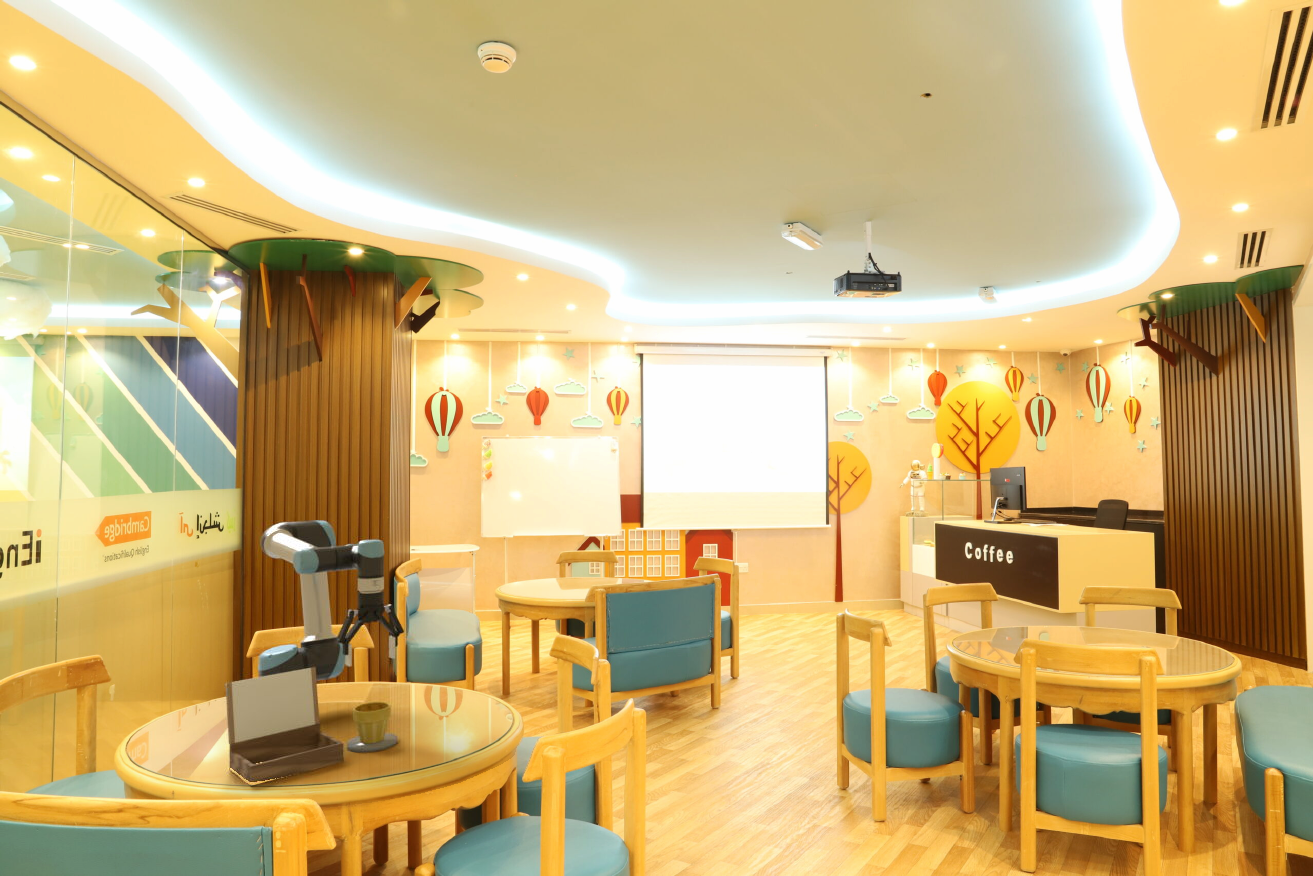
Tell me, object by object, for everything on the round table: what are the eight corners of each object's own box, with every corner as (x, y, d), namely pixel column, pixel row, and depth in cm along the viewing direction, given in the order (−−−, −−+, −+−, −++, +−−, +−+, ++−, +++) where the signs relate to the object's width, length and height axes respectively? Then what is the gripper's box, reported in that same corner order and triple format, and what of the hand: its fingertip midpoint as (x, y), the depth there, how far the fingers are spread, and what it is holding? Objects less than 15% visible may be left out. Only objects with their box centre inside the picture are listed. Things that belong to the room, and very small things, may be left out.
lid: (225, 741, 222) (225, 682, 223) (314, 721, 239) (313, 666, 239) (230, 744, 219) (230, 684, 220) (319, 724, 236) (319, 668, 237)
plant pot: (379, 746, 232) (378, 712, 232) (346, 745, 234) (345, 711, 234) (397, 735, 242) (397, 702, 242) (366, 734, 244) (365, 701, 244)
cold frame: (229, 770, 219) (229, 744, 219) (318, 748, 236) (318, 723, 236) (250, 786, 207) (250, 758, 207) (343, 761, 224) (343, 735, 224)
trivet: (338, 745, 238) (338, 741, 238) (384, 733, 248) (384, 729, 248) (359, 756, 228) (359, 751, 228) (406, 743, 238) (406, 739, 238)
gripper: (334, 597, 235) (334, 671, 235) (414, 588, 252) (414, 656, 252) (324, 594, 241) (324, 666, 240) (403, 585, 258) (403, 652, 257)
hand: (370, 661), depth 246 cm, fingers open, 13 cm apart
